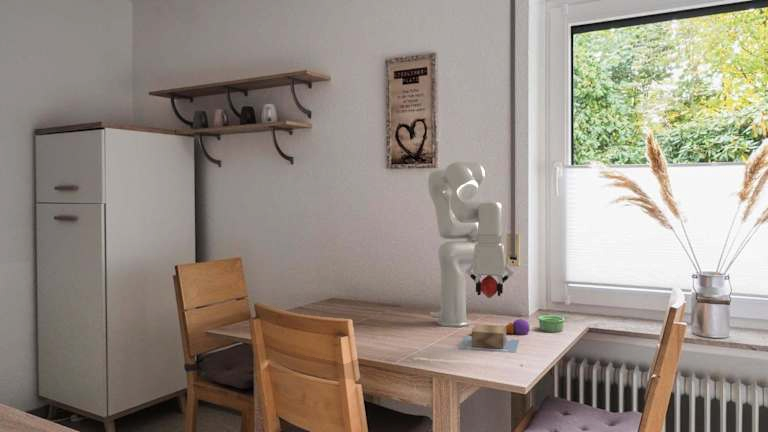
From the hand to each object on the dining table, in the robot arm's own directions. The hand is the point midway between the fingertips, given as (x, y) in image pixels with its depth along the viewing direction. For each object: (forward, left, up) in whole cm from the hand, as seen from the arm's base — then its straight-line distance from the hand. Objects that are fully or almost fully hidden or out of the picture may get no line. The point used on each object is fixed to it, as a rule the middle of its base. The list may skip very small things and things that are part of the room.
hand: (489, 294), depth 188 cm
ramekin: (+19, +29, -17) cm, 39 cm away
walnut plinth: (0, 0, -16) cm, 16 cm away
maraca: (+2, +15, -18) cm, 23 cm away
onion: (0, 0, -1) cm, 1 cm away
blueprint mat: (0, 0, -17) cm, 17 cm away
